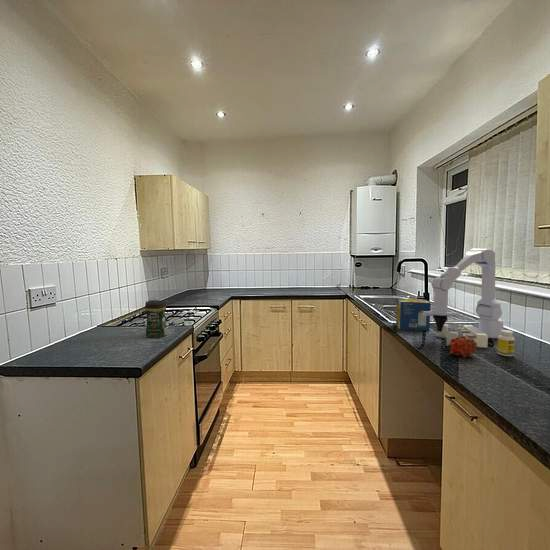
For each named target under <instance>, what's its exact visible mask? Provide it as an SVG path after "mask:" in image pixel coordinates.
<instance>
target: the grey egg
mask: <svg viewBox="0 0 550 550" xmlns="http://www.w3.org/2000/svg"><path fill="white" fill-rule="evenodd" d="M459 333H460V332H456V331H449V330H448V332H447V338H446V346H447V347H448V345H449V344H450V342H451V340H452V339H456V338H457V337H459Z"/></svg>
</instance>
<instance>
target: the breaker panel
mask: <svg viewBox="0 0 550 550" xmlns="http://www.w3.org/2000/svg"><path fill="white" fill-rule="evenodd" d="M456 329H457V331H458V332H459V333H461V334H462V337H464V336H465V337H468V338H471V339H472V340H474V342H475V343H477V347H476V348H488V341H489V338H488V335H487V334H485V333H483V332H482V331H480V330H479V328H478V327H476V326H474V325H473V324H472V325H470V324H469V325H468V324H463V325H462V327H457V328H456Z"/></svg>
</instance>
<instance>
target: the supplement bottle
mask: <svg viewBox="0 0 550 550" xmlns="http://www.w3.org/2000/svg"><path fill="white" fill-rule="evenodd" d="M513 335H514V331H513V330H508V329H503V330H501V335H499V336H498V338H497V347H496V348H497V350H496V353H497V354H498V355H500V356H505V357H513V356H514V354H515V353H514V352H515V337H514V336H513Z"/></svg>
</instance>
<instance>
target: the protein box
mask: <svg viewBox="0 0 550 550" xmlns="http://www.w3.org/2000/svg"><path fill="white" fill-rule="evenodd" d="M423 311H431V302H430V301H428V300H427V299H425V298H424V299H423V298H396V313H395V317H396V319H395V324H396V327H397V328H398V330H399V329H402V330H401V331H417V330H419V332H429V331H430V324H431V323H430V322H431V316H424V315H423Z"/></svg>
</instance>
